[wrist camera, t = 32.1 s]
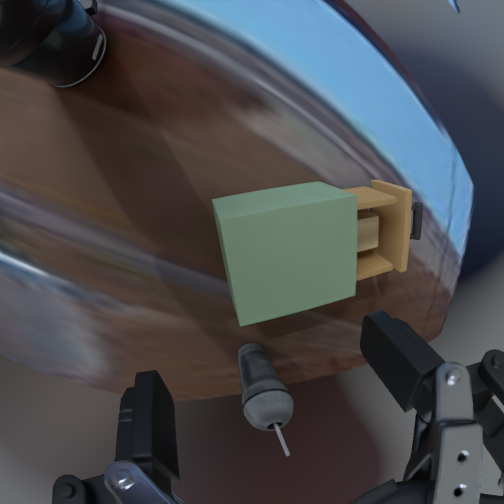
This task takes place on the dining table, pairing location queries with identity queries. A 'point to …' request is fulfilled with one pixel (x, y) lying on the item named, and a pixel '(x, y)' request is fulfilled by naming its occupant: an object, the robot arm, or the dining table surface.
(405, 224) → the drawer
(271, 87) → the dining table surface
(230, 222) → the cabinet
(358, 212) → the block
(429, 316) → the dining table surface
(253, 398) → the beverage cup
